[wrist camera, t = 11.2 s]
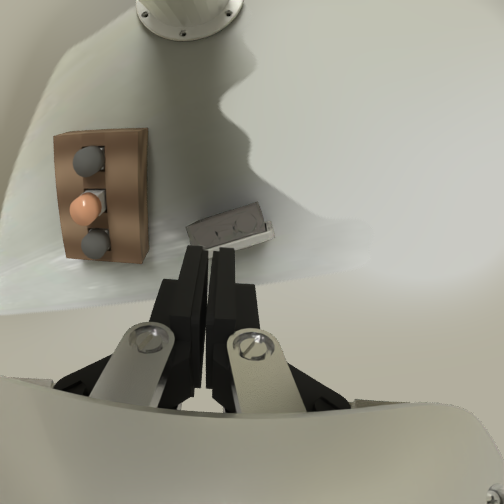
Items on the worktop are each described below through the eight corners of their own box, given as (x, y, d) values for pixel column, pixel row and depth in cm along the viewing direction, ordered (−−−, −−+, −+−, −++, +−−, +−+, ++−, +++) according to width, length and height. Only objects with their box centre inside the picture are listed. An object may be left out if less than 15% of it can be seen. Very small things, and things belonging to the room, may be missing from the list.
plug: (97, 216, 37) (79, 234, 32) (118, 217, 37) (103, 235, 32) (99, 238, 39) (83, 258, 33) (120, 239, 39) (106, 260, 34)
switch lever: (93, 141, 33) (72, 149, 28) (116, 140, 33) (97, 147, 28) (94, 166, 34) (73, 177, 29) (116, 165, 34) (98, 177, 29)
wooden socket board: (68, 131, 32) (53, 136, 28) (147, 128, 33) (138, 131, 29) (78, 244, 39) (66, 258, 36) (149, 249, 40) (141, 263, 37)
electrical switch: (203, 247, 41) (194, 279, 32) (189, 210, 39) (175, 234, 30) (272, 225, 40) (281, 253, 31) (260, 187, 38) (266, 205, 29)
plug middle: (89, 183, 33) (68, 197, 28) (112, 183, 34) (93, 198, 29) (91, 207, 35) (71, 225, 30) (113, 208, 35) (96, 226, 30)
